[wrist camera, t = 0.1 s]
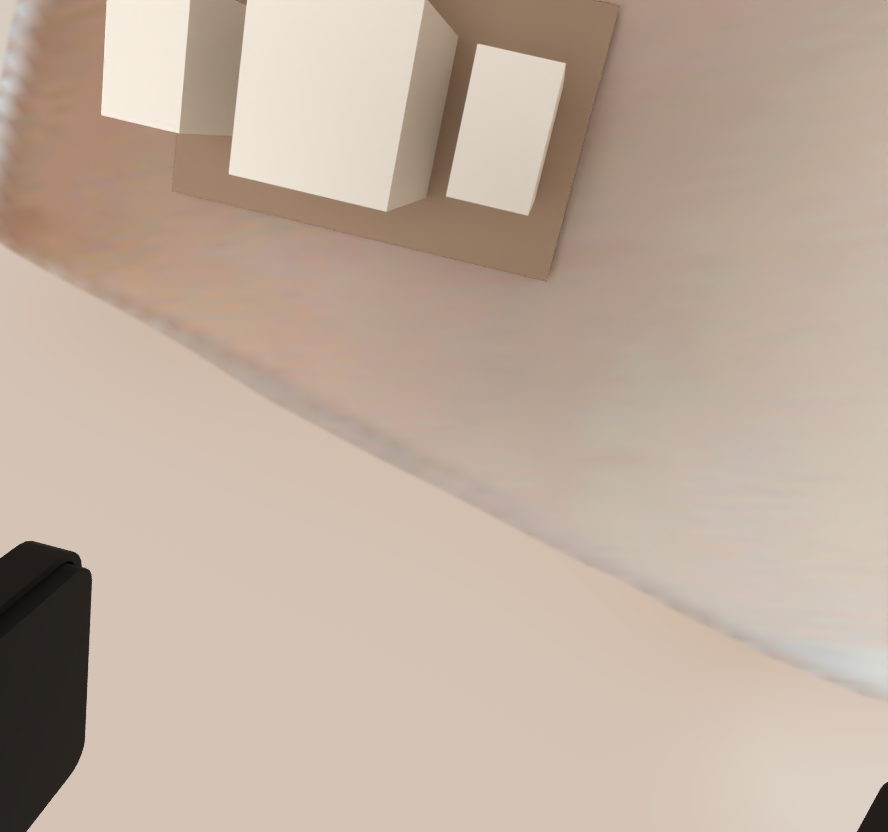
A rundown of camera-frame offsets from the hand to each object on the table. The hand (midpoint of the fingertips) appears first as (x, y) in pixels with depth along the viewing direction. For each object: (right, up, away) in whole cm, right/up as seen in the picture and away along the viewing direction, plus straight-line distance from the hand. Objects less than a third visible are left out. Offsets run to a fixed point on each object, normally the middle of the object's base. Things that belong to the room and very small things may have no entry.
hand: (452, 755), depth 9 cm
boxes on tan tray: (-3, +19, +27) cm, 33 cm away
